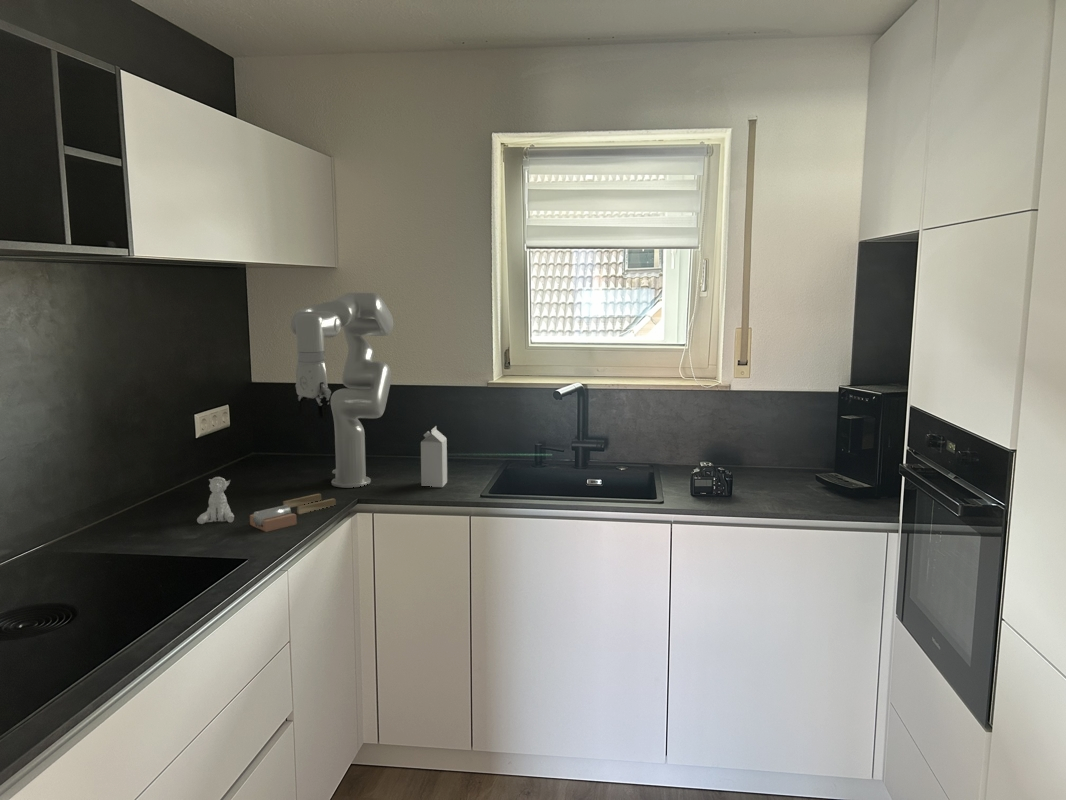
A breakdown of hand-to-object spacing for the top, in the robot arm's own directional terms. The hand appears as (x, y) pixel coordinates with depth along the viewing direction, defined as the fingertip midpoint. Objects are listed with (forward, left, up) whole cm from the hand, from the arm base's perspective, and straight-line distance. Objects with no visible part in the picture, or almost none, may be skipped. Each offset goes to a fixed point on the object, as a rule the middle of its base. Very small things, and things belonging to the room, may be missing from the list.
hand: (314, 416), depth 223 cm
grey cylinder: (+6, -18, -25) cm, 31 cm away
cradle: (+6, -17, -27) cm, 33 cm away
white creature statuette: (-10, -25, -28) cm, 39 cm away
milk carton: (+5, +41, -28) cm, 49 cm away
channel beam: (-2, -1, -27) cm, 27 cm away
